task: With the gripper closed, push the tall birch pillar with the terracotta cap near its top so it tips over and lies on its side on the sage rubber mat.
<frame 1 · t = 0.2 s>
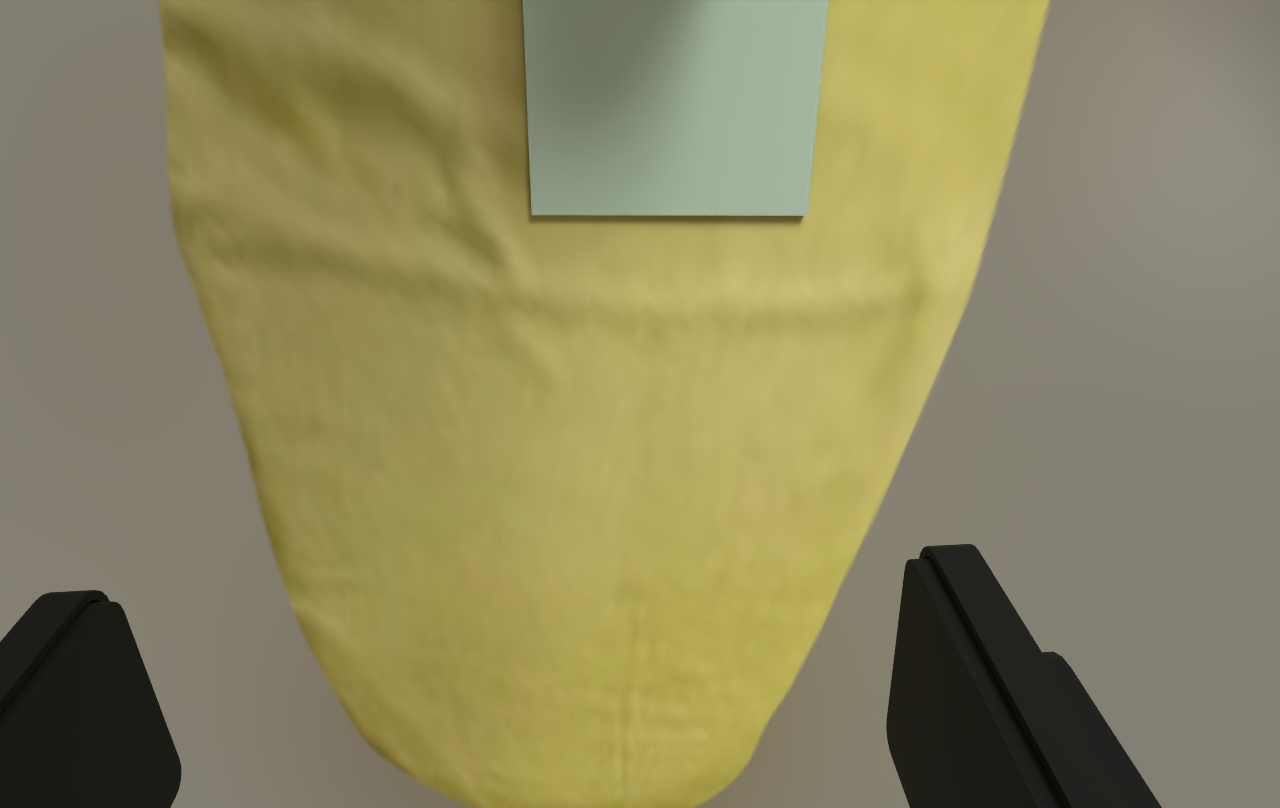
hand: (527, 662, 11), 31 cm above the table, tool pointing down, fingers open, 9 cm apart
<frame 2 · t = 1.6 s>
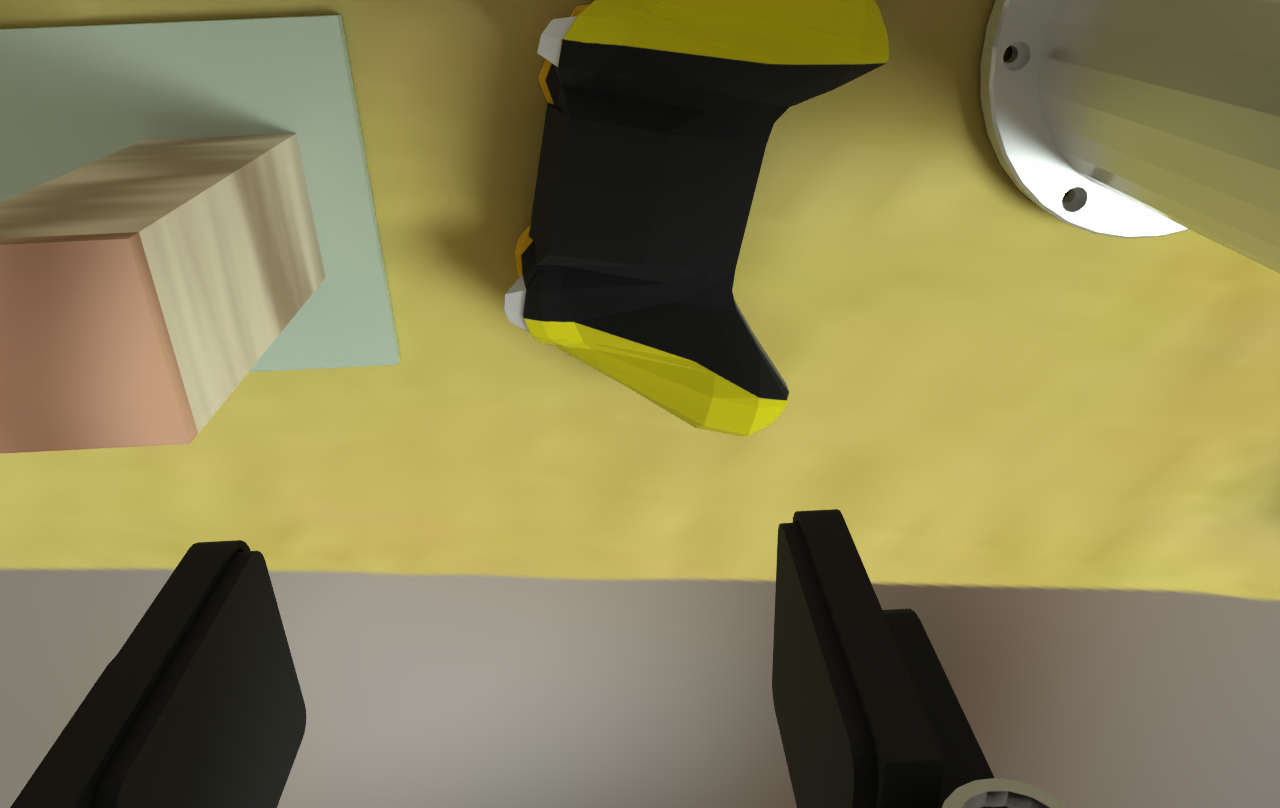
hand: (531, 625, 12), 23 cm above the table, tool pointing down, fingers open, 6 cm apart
sage mat: (83, 215, 31), on the table
birch pillar: (238, 211, 31), resting on sage mat
gaming controller: (670, 180, 32), on the table
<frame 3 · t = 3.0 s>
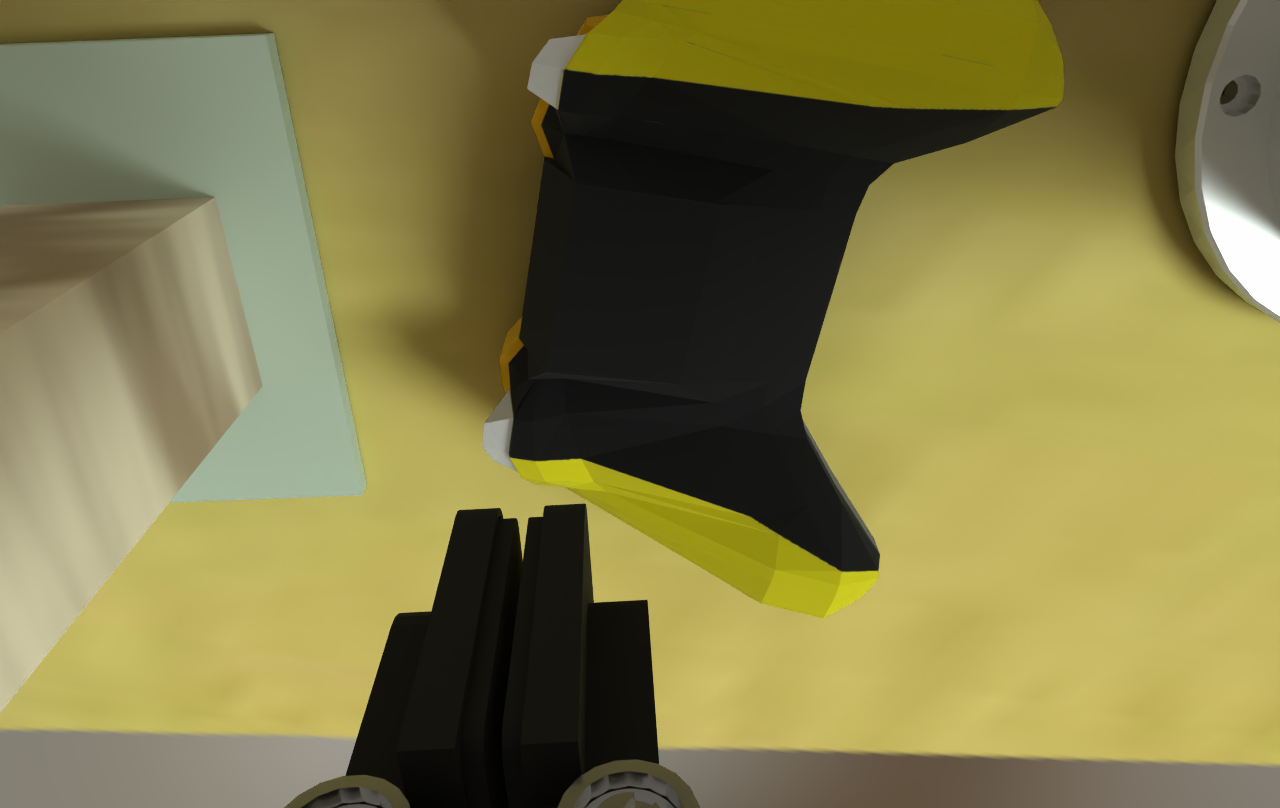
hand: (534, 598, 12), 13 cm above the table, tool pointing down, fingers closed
birch pillar: (140, 300, 23), resting on sage mat
gaming controller: (715, 254, 23), on the table
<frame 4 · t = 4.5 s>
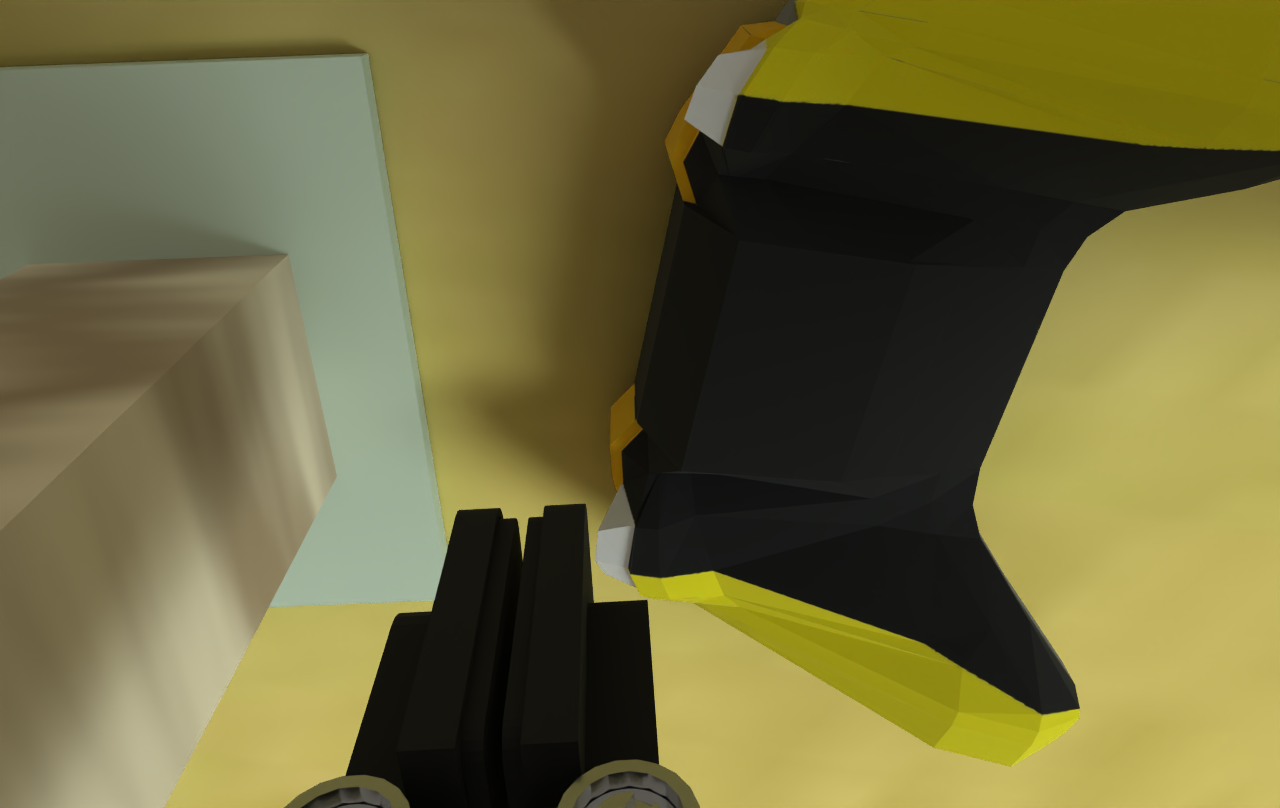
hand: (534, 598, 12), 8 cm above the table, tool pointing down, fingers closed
birch pillar: (191, 376, 19), resting on sage mat
gaming controller: (865, 312, 19), on the table
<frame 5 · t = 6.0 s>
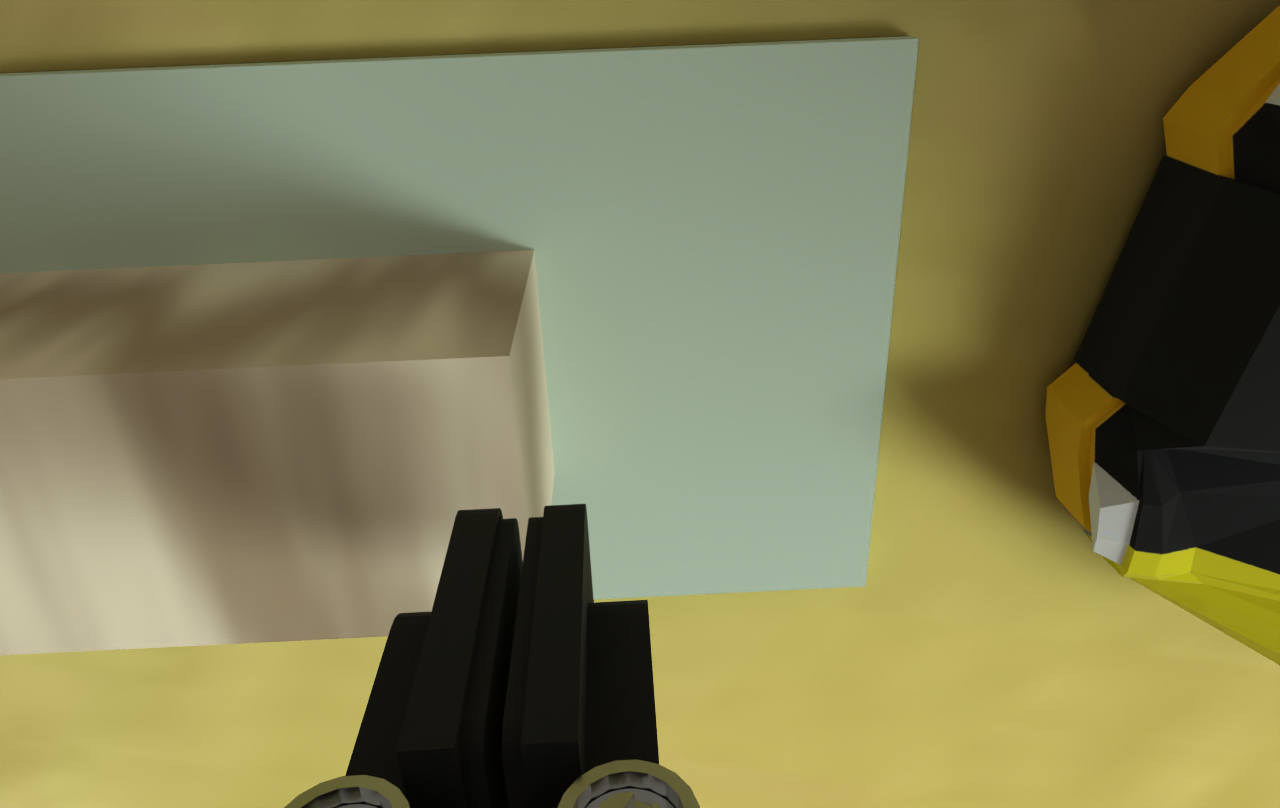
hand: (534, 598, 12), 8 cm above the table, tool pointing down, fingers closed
sage mat: (404, 364, 19), on the table
birch pillar: (536, 426, 16), point 3 cm above the table, tilted 90°, touching sage mat
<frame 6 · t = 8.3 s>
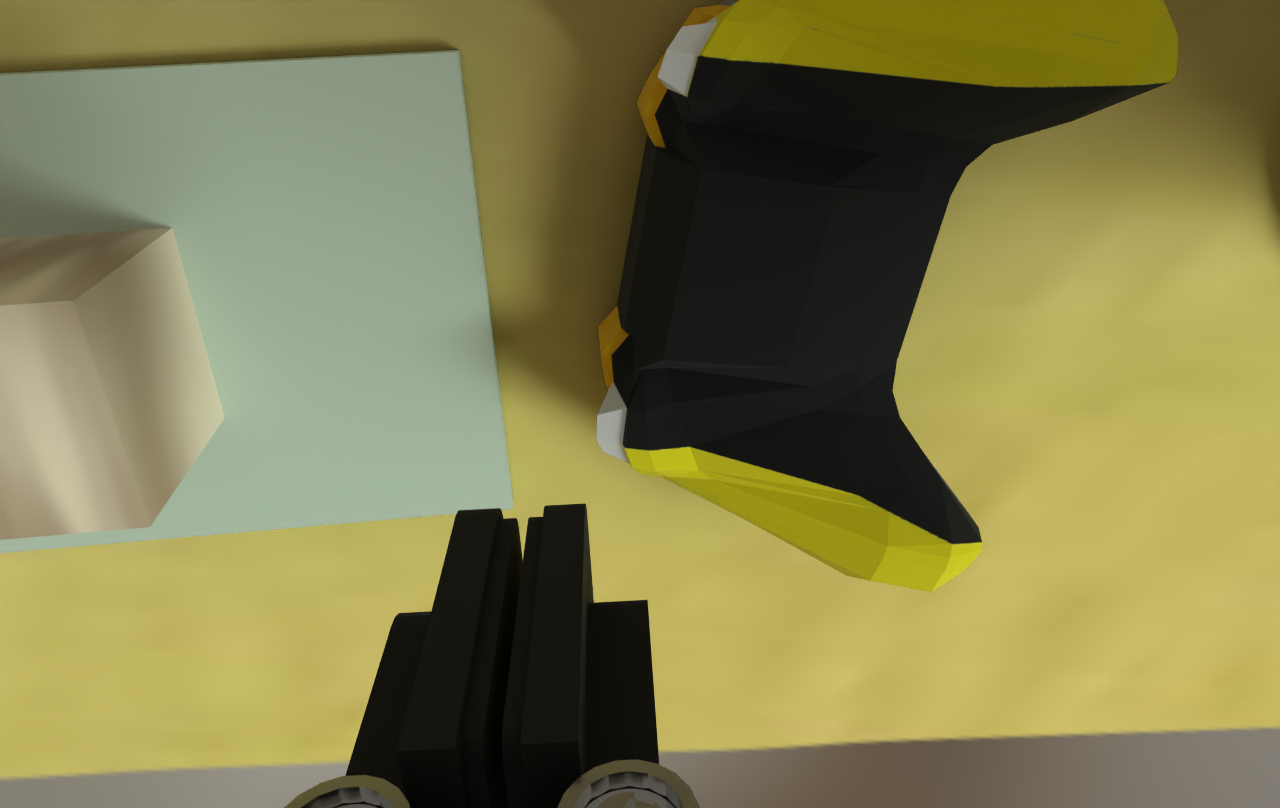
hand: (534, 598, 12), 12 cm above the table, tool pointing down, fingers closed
sage mat: (83, 329, 23), on the table
birch pillar: (161, 369, 20), point 3 cm above the table, tilted 90°, touching sage mat
gaming controller: (800, 242, 24), on the table
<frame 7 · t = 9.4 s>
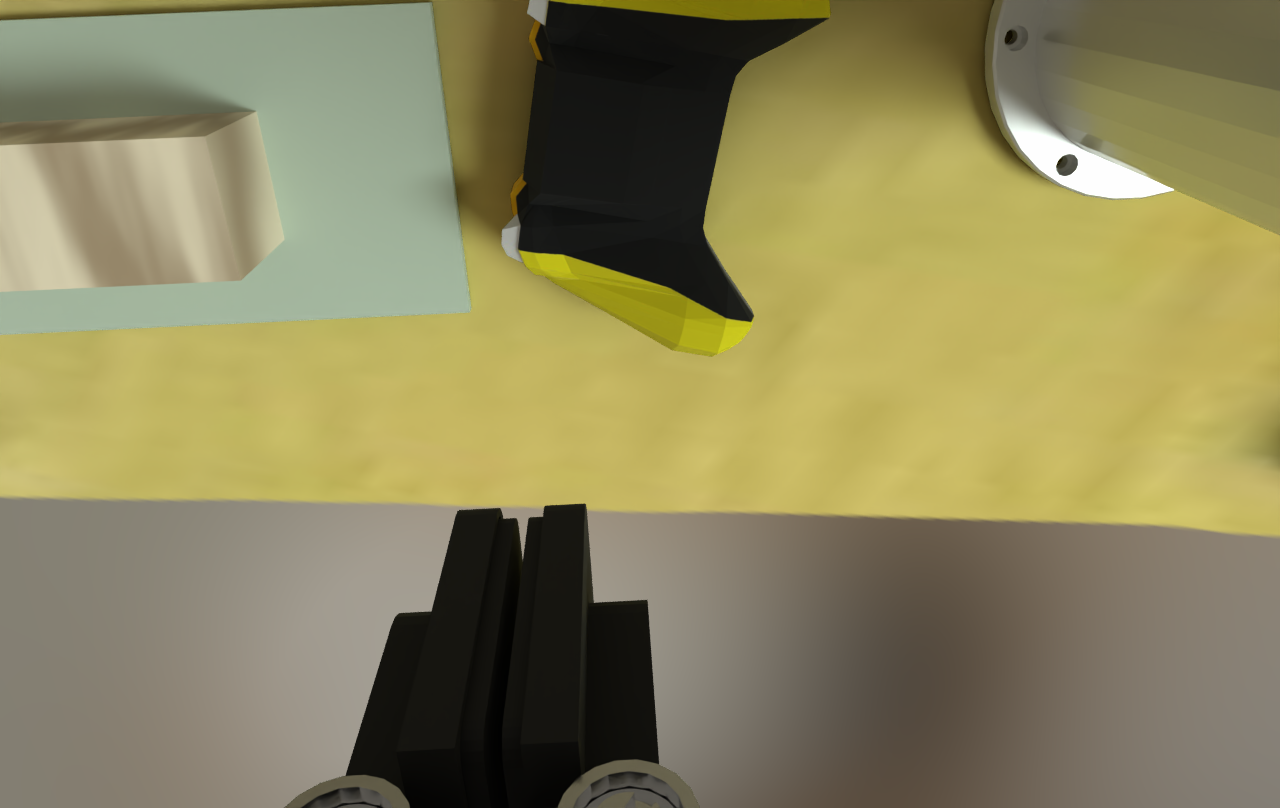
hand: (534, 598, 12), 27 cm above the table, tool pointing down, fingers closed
sage mat: (199, 177, 36), on the table
birch pillar: (249, 193, 33), point 3 cm above the table, tilted 90°, touching sage mat
gaming controller: (647, 131, 36), on the table
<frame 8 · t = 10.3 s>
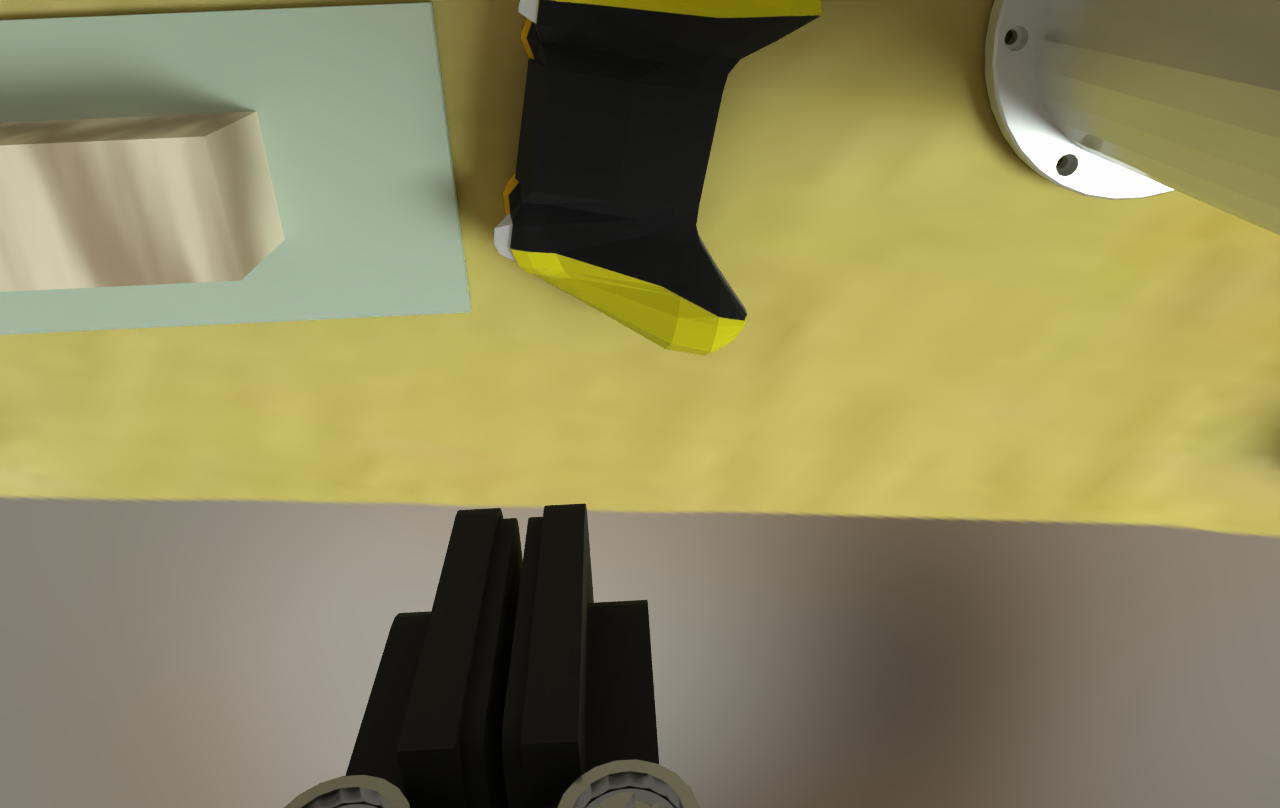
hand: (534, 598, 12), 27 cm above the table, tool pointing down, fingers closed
sage mat: (199, 177, 36), on the table
birch pillar: (249, 193, 33), point 3 cm above the table, tilted 90°, touching sage mat
gaming controller: (640, 129, 36), on the table
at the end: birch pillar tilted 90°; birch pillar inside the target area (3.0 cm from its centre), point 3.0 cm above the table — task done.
